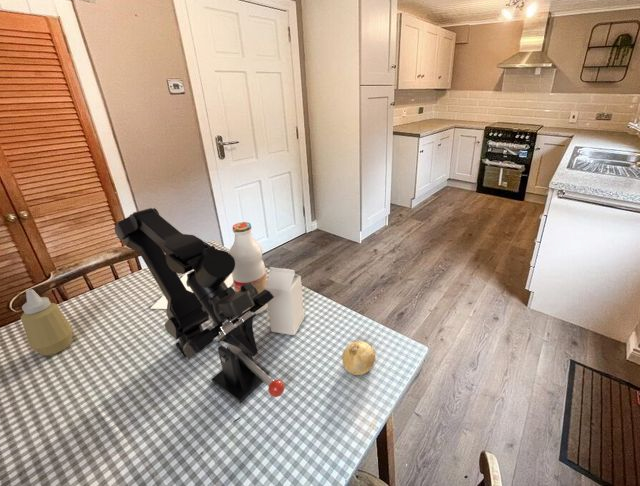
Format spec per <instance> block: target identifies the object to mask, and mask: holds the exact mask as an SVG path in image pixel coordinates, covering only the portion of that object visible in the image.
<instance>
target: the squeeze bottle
mask: <svg viewBox="0 0 640 486" xmlns="http://www.w3.org/2000/svg"><path fill="white" fill-rule="evenodd" d="M25 297H26V302H25V303H24V304H23V305H22V306H21V309H22V311H23V313H22V314H21V316H20V320H21V324H22V327H23V330H24V332H25V333H24V334H25V336H26V339H27V342H28V345H29V347H30V349H32V350H33V351H35V352H36V353H38V354H40V355H41V356H45V357H47V356H52V355H55V354H58V353H60V352H62V351H64V350H65V349H67V348H68V347H69V346H70V345H71V344H72V341H73V332H74V331H73V330H74V328H73V327H72V325H71V324H70V322H69V320H68V319H67V318H66V316H65V315H64V313H63V312H62V310H61V308H60V307H59V305H58V304H57V303H54V302H51V300H50V299H49V297H47V296H40V295H39V294H38V293H37V292H36V291H35V290H34V289H33V288H29V289H27V290H25Z"/></svg>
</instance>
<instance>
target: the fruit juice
mask: <svg viewBox="0 0 640 486" xmlns="http://www.w3.org/2000/svg"><path fill="white" fill-rule="evenodd" d="M232 232H233V233H234V241H233V244H232V245H231V247H230V249H229V251H228V253H229V254H230V255H232V256H233V257H234V260H235V268H234V270H233V272H232V277H233V289H234V291H235V292H238V291H240V290H241V288H240V287H241V286H242V285H244V284H245V283H247V282H252V284H253V285H254V286H255V287H256V289H257V291H258V294H259V293H260V292H262V291H263V290H265V286H266V282H267V279H268V276H267V271H266V266H265V262H264V260H263V253H264V252H263V248H262V246H261V243H259V242H258V241H257V240H256V239H255V238H254V236H253V234H252V224H251V223H250V222H248V221H241V222H237V223H235V224H233V225H232ZM266 310H268V305H267V304H265V305H264V306H263V307H261V308H260V309H258V310H257V311H256V312H254V313H252V312H251V313H252V315H254V314H255V313H256V315H258V314H261V313H263V312H264V311H266Z"/></svg>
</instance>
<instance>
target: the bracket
mask: <svg viewBox="0 0 640 486" xmlns="http://www.w3.org/2000/svg"><path fill="white" fill-rule="evenodd" d="M217 352H218V356H219V361H220V365H221V371H219V372H218V373H217V374H215V375H214V376H213V377H212V378H211V383H212V384H213V385H215V386H216V387H218V388H219V389H220V390H221V391H222V392H224V393H225V394H227V395H228V396H229V397H231V398H232V399H234V400H235V401H236V402H237V403H239V404H242V403H243V402H244V401H245V400H246V399H247V398H248V397H249V396H250V395H251V394H252V393H253V392H254V391H255V390H256V389H257V388H258V387H260V386H261V384H263V383H264V382H263V381H262V380H261V379H260V378H259V377H258V376H257V375H256V374H255V373H254V372H253V371H251V370H250V369H249V368H248V367H247V366H246V365H245V364H244V363H243V362H242V361H241V360H239V359H237V360H235V355H234V353H233V352H231V351H230V350H228V349H227V347H225V346H224V345H222V344H221V345H219V346H218V347H217ZM243 353H244V354H245V355H246V356H247V357H248V358H249V359H250V360H251V361H252V362H254V359H253V356H252V355H250V354H248V353H246V352H244V351H243ZM258 367H259V368H260V369H261V370H262V371H264V372H265V373H266V374H267V375H268V376H269V377H270V375H269V372H268V371H266V370H265V369H263V368H261V367H260V366H258Z"/></svg>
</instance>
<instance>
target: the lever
mask: <svg viewBox="0 0 640 486" xmlns="http://www.w3.org/2000/svg"><path fill="white" fill-rule="evenodd" d="M226 348H227V349H228V350H230V351H231V352H233V353H234V355H235V360H237V359H239V360H241V361H242V362H243V363H244V364H245V365H246V366H247V367H248V368H249V369H250V370H251V371H253V372H254V373H255V374H256V375H257V376H258V377H259V378H260V379H261V380H262V381H263V382H262V383H265V384H266V385H267V386H268V390H267V391H268V394H269V395H270V396H271V398H278V397H281V395H283V393H284V391H285V383H284V382H283V381H282V379H279V378H278V379H272V377H270V375H269V374H268V375H269V376H268V375H267V374H266V373H265V372H264V371H265V370H264V371H262V370H261V369H262V368H261V367H260V366H258V365H257V364H256V363H255V362H254V361H253V362H252V361H251V360H250V359H249V358H248V357H247V356H246V355H245V354H244V353H243V350H241V349H239V348H237V347H235V346H233V345H231V344H228V345H227V346H226ZM259 367H260V368H261V369H260V368H259Z"/></svg>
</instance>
